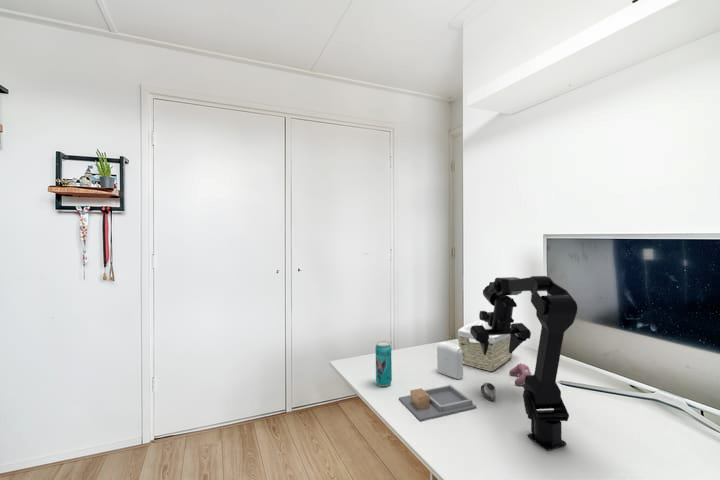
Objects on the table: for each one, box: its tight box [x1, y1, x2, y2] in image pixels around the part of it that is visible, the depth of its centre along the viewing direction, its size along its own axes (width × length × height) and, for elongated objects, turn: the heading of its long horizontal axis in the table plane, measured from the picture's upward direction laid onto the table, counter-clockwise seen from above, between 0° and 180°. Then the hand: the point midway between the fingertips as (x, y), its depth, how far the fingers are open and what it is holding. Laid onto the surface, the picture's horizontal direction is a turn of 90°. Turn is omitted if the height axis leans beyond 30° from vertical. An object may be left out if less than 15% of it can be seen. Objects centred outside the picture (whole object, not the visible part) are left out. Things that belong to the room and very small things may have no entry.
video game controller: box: [508, 362, 532, 386], centre depth 123 cm, size 10×5×7 cm, turn 169°
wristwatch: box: [480, 382, 497, 402], centre depth 110 cm, size 4×6×5 cm, turn 16°
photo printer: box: [436, 341, 464, 380], centre depth 129 cm, size 10×4×12 cm, turn 39°
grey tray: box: [398, 384, 477, 422], centre depth 107 cm, size 14×20×5 cm
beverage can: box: [375, 340, 393, 387], centre depth 122 cm, size 6×6×15 cm
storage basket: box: [457, 319, 513, 372], centre depth 142 cm, size 24×16×15 cm
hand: (497, 353), depth 115 cm, fingers open, 9 cm apart
